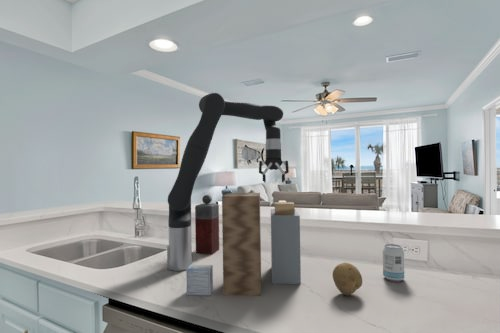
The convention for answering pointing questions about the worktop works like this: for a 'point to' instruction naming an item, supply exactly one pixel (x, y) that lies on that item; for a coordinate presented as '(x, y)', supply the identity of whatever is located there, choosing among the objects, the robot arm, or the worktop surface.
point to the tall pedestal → (241, 244)
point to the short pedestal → (285, 248)
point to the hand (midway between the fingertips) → (273, 182)
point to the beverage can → (393, 262)
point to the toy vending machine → (207, 226)
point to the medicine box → (199, 279)
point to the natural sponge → (347, 278)
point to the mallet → (284, 208)
